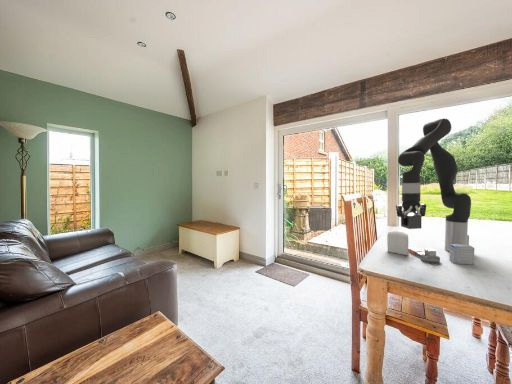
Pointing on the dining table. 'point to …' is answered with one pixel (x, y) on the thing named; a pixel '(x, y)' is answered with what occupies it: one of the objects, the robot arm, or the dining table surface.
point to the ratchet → (426, 255)
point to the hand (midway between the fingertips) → (410, 224)
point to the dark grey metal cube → (412, 221)
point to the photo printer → (397, 242)
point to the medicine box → (461, 254)
